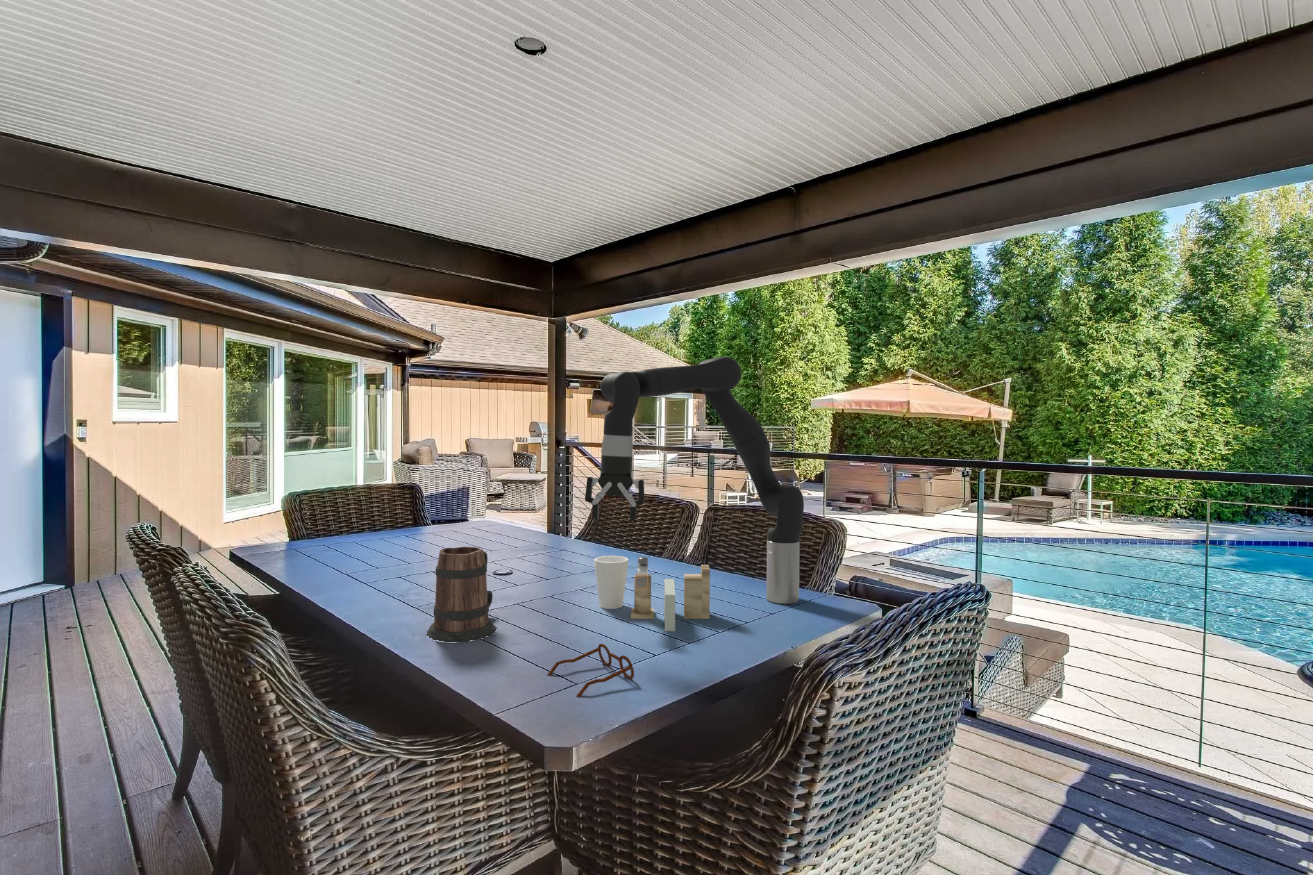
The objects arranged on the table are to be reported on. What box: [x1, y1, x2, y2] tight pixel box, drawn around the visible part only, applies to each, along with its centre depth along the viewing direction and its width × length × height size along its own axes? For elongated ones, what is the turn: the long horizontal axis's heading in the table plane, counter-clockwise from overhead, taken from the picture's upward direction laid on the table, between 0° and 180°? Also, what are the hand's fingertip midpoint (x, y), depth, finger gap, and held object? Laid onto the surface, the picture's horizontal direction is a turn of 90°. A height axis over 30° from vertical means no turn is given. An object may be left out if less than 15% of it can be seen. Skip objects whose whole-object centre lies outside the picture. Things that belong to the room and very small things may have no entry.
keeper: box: [683, 564, 711, 620], centre depth 172 cm, size 5×6×13 cm
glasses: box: [546, 643, 635, 698], centre depth 130 cm, size 13×13×5 cm
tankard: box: [426, 546, 498, 643], centre depth 161 cm, size 24×17×20 cm
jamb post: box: [630, 574, 655, 620], centre depth 172 cm, size 6×6×10 cm
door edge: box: [663, 578, 676, 632], centre depth 167 cm, size 16×2×9 cm, turn 0°
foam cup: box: [593, 555, 629, 610], centre depth 181 cm, size 10×9×13 cm
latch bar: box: [634, 556, 649, 589], centre depth 166 cm, size 16×3×5 cm, turn 0°
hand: (613, 521), depth 158 cm, fingers open, 8 cm apart
